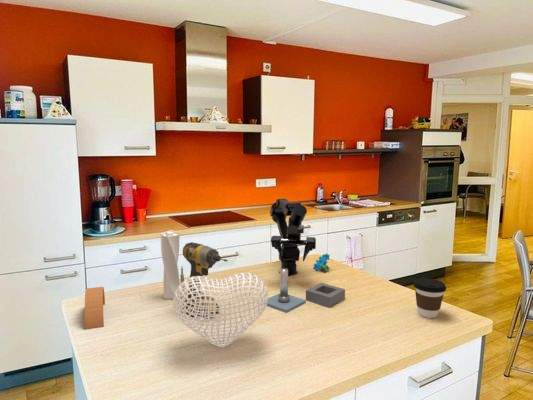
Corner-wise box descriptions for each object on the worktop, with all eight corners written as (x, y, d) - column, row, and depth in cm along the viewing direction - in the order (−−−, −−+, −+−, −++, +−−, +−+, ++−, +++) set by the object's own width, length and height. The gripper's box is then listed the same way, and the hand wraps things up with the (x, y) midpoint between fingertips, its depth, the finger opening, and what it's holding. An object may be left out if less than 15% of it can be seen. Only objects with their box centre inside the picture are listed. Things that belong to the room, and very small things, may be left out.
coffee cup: (447, 322, 136) (450, 289, 134) (414, 319, 138) (416, 287, 136) (440, 309, 146) (442, 278, 145) (409, 307, 149) (411, 276, 147)
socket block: (305, 299, 155) (305, 290, 154) (321, 291, 163) (321, 282, 162) (329, 307, 148) (330, 297, 147) (344, 299, 156) (345, 289, 155)
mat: (261, 303, 151) (261, 301, 151) (281, 294, 160) (281, 292, 160) (286, 312, 143) (286, 310, 143) (305, 302, 152) (305, 300, 152)
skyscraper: (180, 301, 153) (178, 231, 149) (159, 301, 153) (157, 231, 149) (185, 293, 162) (183, 226, 157) (165, 293, 162) (163, 226, 157)
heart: (261, 329, 131) (261, 264, 127) (273, 354, 116) (274, 281, 112) (174, 339, 124) (172, 271, 121) (175, 366, 109) (172, 289, 106)
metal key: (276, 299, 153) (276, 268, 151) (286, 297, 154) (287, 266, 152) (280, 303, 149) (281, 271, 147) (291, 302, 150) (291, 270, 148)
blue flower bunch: (311, 262, 197) (326, 249, 195) (319, 270, 198) (334, 257, 196) (313, 272, 186) (329, 259, 184) (322, 280, 187) (338, 267, 185)
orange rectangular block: (84, 330, 130) (82, 301, 128) (89, 306, 148) (87, 280, 147) (103, 327, 132) (102, 298, 130) (105, 304, 150) (104, 278, 149)
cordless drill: (216, 327, 132) (215, 254, 128) (176, 311, 144) (174, 244, 140) (234, 317, 139) (233, 248, 135) (195, 303, 151) (193, 239, 147)
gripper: (271, 217, 166) (267, 249, 157) (316, 218, 164) (315, 251, 155) (273, 230, 175) (270, 262, 166) (316, 232, 173) (315, 264, 164)
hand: (292, 260), depth 162 cm, fingers open, 9 cm apart
